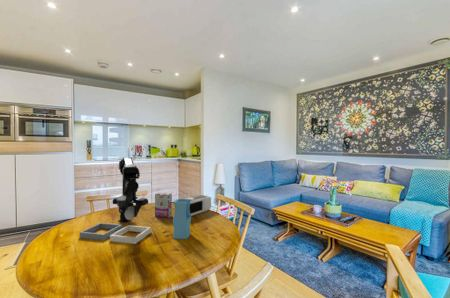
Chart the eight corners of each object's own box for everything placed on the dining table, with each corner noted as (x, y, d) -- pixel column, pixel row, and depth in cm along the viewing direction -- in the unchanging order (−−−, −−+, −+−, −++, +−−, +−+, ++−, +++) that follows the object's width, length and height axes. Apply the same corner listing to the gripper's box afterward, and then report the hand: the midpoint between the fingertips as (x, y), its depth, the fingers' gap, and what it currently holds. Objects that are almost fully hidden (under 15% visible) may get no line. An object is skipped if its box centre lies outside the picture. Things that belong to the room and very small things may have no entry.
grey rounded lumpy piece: (138, 217, 123) (138, 205, 122) (133, 222, 116) (133, 209, 115) (127, 217, 122) (127, 205, 122) (121, 221, 115) (122, 208, 115)
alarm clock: (184, 219, 148) (184, 202, 147) (176, 216, 153) (176, 200, 153) (211, 210, 169) (211, 195, 169) (202, 208, 175) (202, 193, 175)
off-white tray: (128, 230, 128) (128, 225, 128) (151, 232, 125) (151, 227, 125) (109, 241, 113) (109, 235, 113) (135, 243, 110) (135, 238, 110)
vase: (186, 239, 116) (186, 202, 116) (172, 238, 118) (172, 201, 117) (191, 233, 124) (191, 199, 123) (178, 232, 125) (178, 198, 125)
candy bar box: (172, 216, 154) (172, 193, 154) (168, 218, 149) (168, 194, 149) (158, 214, 157) (158, 192, 157) (154, 216, 153) (154, 193, 152)
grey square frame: (100, 227, 132) (100, 222, 132) (122, 229, 129) (122, 224, 129) (79, 237, 117) (79, 232, 117) (103, 240, 114) (103, 234, 114)
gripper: (104, 190, 113) (105, 220, 113) (136, 192, 109) (136, 223, 109) (119, 186, 124) (119, 213, 124) (148, 188, 120) (148, 216, 120)
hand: (130, 216), depth 119 cm, fingers closed on grey rounded lumpy piece, 6 cm apart
